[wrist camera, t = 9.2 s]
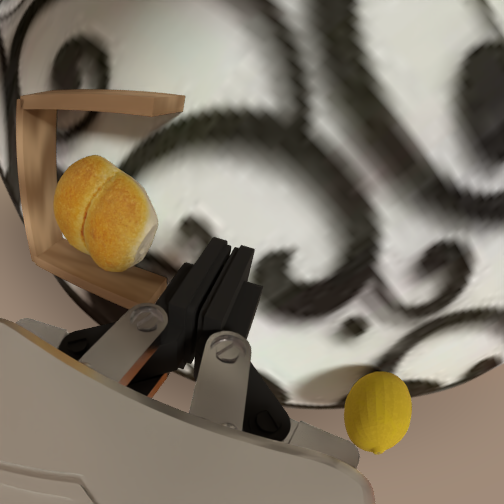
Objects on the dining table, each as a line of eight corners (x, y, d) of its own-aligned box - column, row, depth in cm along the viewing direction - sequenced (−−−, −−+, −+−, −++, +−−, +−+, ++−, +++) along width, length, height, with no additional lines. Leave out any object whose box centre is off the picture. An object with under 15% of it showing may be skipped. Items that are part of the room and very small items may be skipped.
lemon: (416, 371, 22) (427, 449, 15) (368, 396, 25) (367, 469, 18) (384, 342, 21) (392, 430, 14) (332, 372, 24) (325, 453, 17)
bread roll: (83, 137, 18) (45, 150, 15) (175, 197, 19) (144, 221, 16) (64, 219, 23) (34, 240, 19) (139, 276, 24) (114, 305, 20)
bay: (51, 90, 17) (17, 96, 14) (185, 95, 16) (154, 97, 12) (57, 244, 24) (32, 263, 21) (166, 287, 23) (145, 316, 20)
